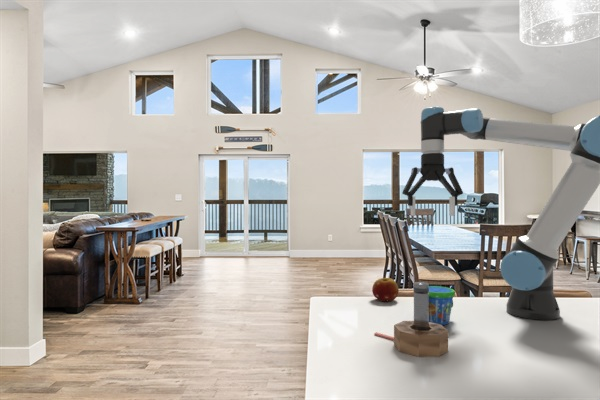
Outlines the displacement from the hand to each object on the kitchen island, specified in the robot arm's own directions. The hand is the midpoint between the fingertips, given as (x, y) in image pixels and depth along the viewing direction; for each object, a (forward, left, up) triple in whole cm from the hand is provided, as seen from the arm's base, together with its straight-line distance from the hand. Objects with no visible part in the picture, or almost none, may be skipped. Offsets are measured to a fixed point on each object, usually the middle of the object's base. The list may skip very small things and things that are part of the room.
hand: (432, 215), depth 141 cm
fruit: (+13, -13, -32) cm, 37 cm away
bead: (+17, +37, -32) cm, 52 cm away
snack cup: (+5, +16, -32) cm, 36 cm away
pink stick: (+22, +31, -32) cm, 49 cm away
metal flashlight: (+17, +37, -32) cm, 52 cm away
